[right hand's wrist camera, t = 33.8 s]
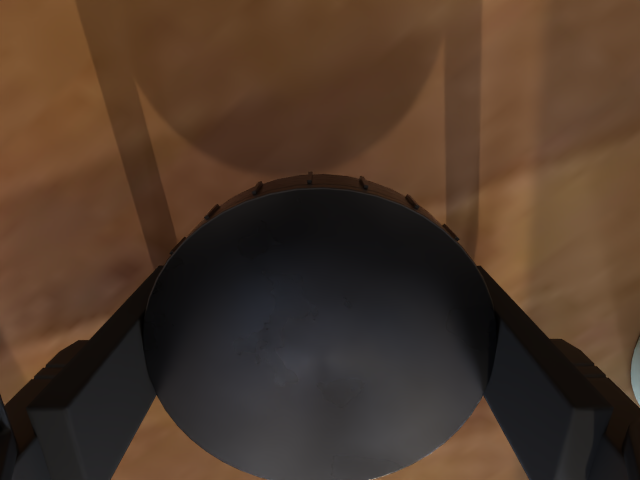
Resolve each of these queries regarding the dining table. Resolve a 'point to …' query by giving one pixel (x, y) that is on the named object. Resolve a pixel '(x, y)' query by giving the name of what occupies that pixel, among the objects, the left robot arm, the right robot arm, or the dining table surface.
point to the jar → (636, 371)
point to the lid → (319, 331)
